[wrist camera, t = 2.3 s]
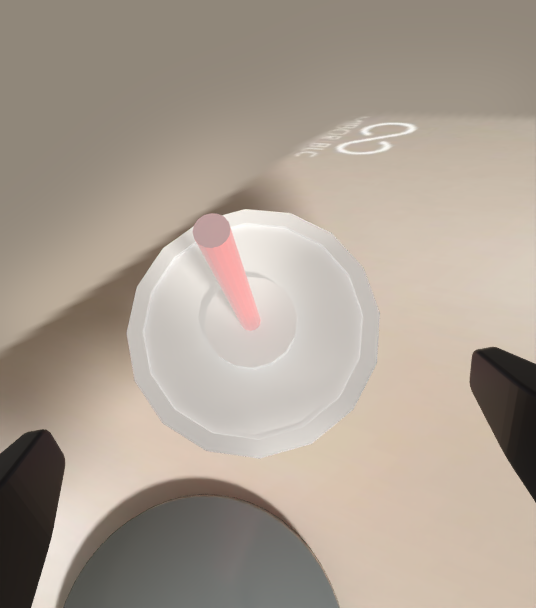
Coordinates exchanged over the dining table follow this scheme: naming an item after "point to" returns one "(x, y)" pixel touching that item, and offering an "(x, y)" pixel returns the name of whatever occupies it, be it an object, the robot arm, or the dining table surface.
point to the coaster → (203, 561)
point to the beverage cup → (253, 333)
